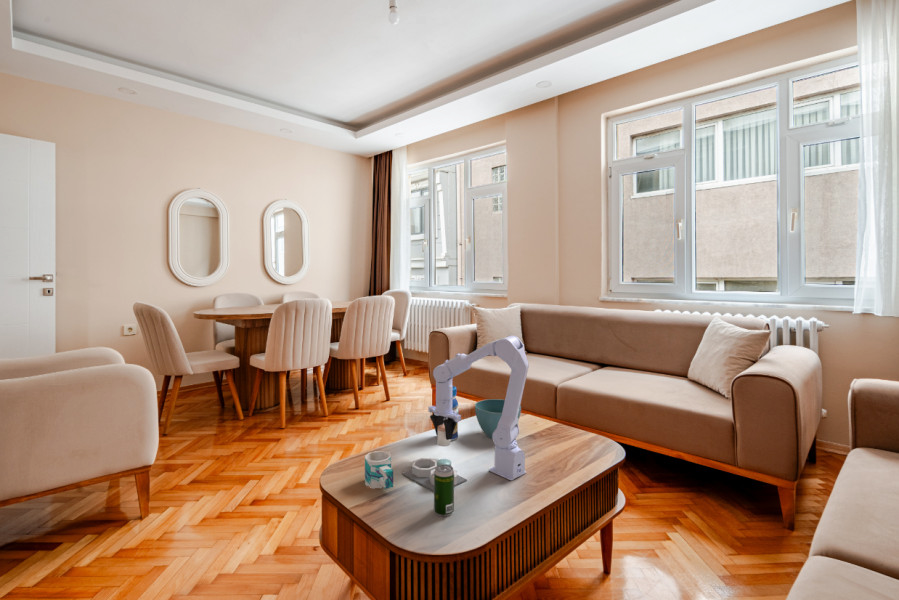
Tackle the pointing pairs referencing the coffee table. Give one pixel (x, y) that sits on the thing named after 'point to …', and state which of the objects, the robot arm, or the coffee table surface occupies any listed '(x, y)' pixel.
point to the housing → (428, 473)
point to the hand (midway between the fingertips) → (444, 436)
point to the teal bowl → (490, 414)
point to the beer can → (444, 490)
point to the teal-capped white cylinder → (443, 462)
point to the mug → (378, 470)
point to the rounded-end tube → (442, 436)
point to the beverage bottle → (455, 409)
